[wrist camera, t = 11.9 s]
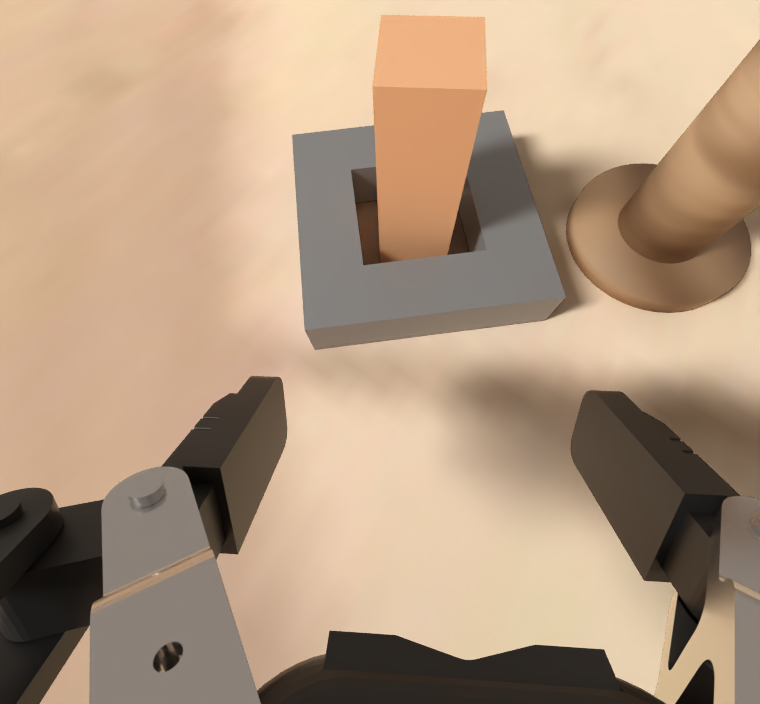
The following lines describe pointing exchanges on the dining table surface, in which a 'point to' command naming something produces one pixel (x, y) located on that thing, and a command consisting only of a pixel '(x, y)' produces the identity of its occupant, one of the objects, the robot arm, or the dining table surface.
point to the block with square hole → (423, 275)
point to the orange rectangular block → (425, 127)
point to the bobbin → (678, 209)
